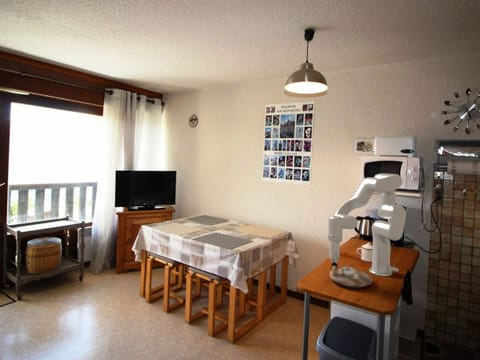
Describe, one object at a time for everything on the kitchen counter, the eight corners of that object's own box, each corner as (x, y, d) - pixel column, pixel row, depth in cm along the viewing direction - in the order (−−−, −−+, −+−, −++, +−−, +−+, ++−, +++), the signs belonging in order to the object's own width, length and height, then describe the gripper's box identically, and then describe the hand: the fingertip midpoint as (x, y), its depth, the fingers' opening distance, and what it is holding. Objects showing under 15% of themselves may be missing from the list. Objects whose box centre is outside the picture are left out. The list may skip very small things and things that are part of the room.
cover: (351, 273, 166) (352, 266, 166) (356, 277, 159) (356, 271, 159) (339, 272, 166) (339, 266, 166) (343, 277, 159) (343, 271, 159)
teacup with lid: (376, 259, 202) (376, 242, 201) (374, 262, 194) (375, 245, 194) (357, 256, 208) (358, 240, 208) (355, 259, 201) (356, 242, 200)
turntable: (361, 271, 173) (361, 260, 173) (379, 286, 151) (380, 274, 151) (324, 270, 173) (324, 260, 173) (337, 286, 151) (337, 274, 151)
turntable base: (362, 278, 168) (363, 274, 168) (368, 289, 153) (368, 285, 153) (333, 275, 172) (334, 271, 172) (336, 286, 156) (336, 282, 156)
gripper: (327, 234, 172) (326, 264, 173) (328, 240, 158) (328, 274, 159) (341, 235, 170) (340, 266, 171) (343, 242, 156) (342, 275, 157)
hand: (334, 269), depth 165 cm, fingers closed
